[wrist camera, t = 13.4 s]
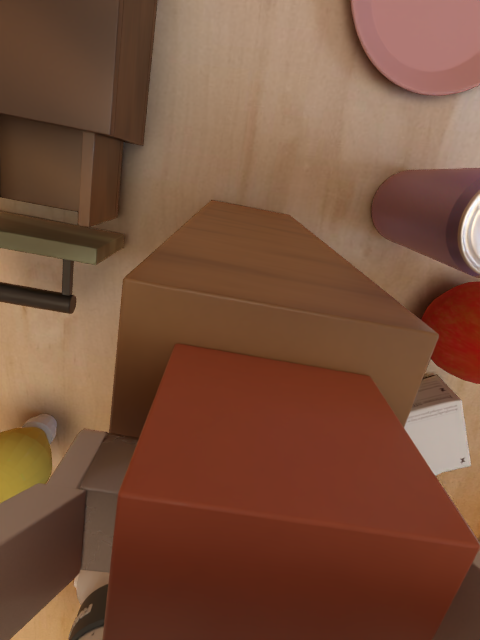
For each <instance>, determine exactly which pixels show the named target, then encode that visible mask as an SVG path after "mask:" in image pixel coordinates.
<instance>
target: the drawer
mask: <svg viewBox="0 0 480 640" xmlns="http://www.w3.org/2000/svg"><path fill="white" fill-rule="evenodd" d="M122 153H123V140H119V139H116V138H112V137H109V136H106V135H102V134H98V133H93V132H88V131H83V130H78V129H73V128H68V127H63V126H58V125H53V124H48V123H43V122H38V121H33V120H28V119H23V118H18V117H13V116H8V115H3V114H0V197H2V198H8V199H13V200H18V201H24V202H29V203H34V204H39V205H45V206H50V207H55V208H61V209H66V210H71V211H77V212H78V225H79V226H78V225H72V224H67V223H62V222H56V221H51V220H45V219H40V218H35V217H29V216H24V215H19V214H13V213H8V212H2V211H0V248H4V249H10V250H15V251H21V252H26V253H32V254H38V255H43V256H49V257H54V258H60V259H63V277H62V293H60V292H54V291H49V290H43V289H37V288H31V287H26V286H20V285H14V284H9V283H3V282H0V302H5V303H10V304H16V305H22V306H28V307H34V308H39V309H45V310H51V311H57V312H63V313H68V314H72V313H73V312H74V310H75V307H76V296H75V295H71V294H72V287H73V266H74V261H76V262H82V263H87V264H93V265H97V264H98V263H100V262H101V261H103V260H105V259H106V258H108V257H109V256H111V255H113V254H114V253H116V252H117V251H119V250H120V249H122V248H124V240H125V234H121V233H115V232H110V231H105V230H99V229H94V228H88V227H91V226H94V225H97V224H100V223H103V222H106V221H109V220H112V219H114V218H117V214H118V202H119V190H120V178H121V165H122ZM83 226H84V227H83Z"/></svg>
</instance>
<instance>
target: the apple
mask: <svg viewBox="0 0 480 640" xmlns="http://www.w3.org/2000/svg"><path fill="white" fill-rule="evenodd" d="M421 320H422V321H423V322H424V323H425V324H427V325H428V326H429V327H430V328H432V329H433V330H434V331H435V332H437V333H438V334H439V338H438V340H437V343H436V346H435V348H434V351H433V354H432V356H431V359H432V360H433V362H434V363H435V364H436V365H437V366H439V367H440V368H442V369H443V370H445V371H446V372H448V373H450V374H452V375H454V376H456V377H458V378H460V379H463V380H466V381H469V382H473V383H476V384H480V282H468V283H464V284H461V285H458V286H456V287H454V288H452V289H450V290H448V291H446V292H445V293H443V294H442V295H440V296H439V297H437V298H436V299H435V300H434V301H433V302H432V303H431V304H430V305H429V306H428V307H427V308H426V310H425V312H424V314H423V316H422V318H421Z"/></svg>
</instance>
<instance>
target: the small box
mask: <svg viewBox="0 0 480 640" xmlns="http://www.w3.org/2000/svg"><path fill="white" fill-rule="evenodd" d="M404 429H405V430H406V432H407V433H408V435H409V436H410V438H411V439H412V441H413V443H414V444H415V446H416V447H417V449H418V450H419V452H420V453H421V455H422V456H423V458H424V459H425V461H426V463H427V464H428V466H429V467H430V469H431V470H432V472H433V473H434V475H435V476H436V475H438V474H440V473H443V472H447V471H451V470H456V469H460V468H464V467H469V466H471V461H470V455H469V447H468V441H467V435H466V428H465V421H464V414H463V407H462V400H460V398H459V397H458V396H457V395H456V394H455V393H454V392H453V391H452V390H451V389H450V388H449V387H448V386H447V385H446V384H445V383H444V382H443V380H442V379H441V378H440V377H439V376H438V375H436V376H432V377H429V378H426V379H423V380H422V382H421V385H420V388H419V390H418V393H417V395H416V398H415V401H414V403H413V406H412V408H411V411H410V414H409V416H408V419H407V422H406V424H405V427H404Z"/></svg>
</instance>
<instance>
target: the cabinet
mask: <svg viewBox="0 0 480 640" xmlns="http://www.w3.org/2000/svg"><path fill="white" fill-rule="evenodd" d="M156 9H157V0H0V114H3V115H8V116H13V117H18V118H23V119H28V120H33V121H38V122H43V123H48V124H53V125H58V126H63V127H68V128H73V129H78V130H83V131H88V132H93V133H98V134H102V135H106V136H109V137H112V138H116V139H119V140H123V142H127V143H132V144H137V145H142V146H143V142H144V132H145V122H146V112H147V101H148V91H149V81H150V70H151V60H152V50H153V40H154V29H155V19H156Z"/></svg>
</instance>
